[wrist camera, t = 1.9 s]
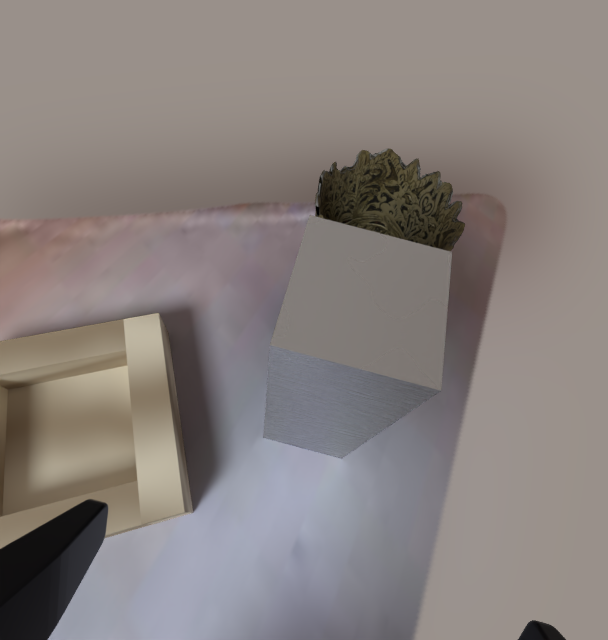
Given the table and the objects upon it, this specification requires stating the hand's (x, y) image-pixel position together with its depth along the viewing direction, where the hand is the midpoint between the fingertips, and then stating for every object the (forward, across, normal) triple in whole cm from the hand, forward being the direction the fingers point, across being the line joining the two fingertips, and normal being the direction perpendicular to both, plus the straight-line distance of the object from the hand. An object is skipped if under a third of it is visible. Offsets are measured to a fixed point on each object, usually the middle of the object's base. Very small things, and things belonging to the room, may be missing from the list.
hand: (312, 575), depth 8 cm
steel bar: (+14, 0, +4) cm, 14 cm away
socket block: (+11, +11, +8) cm, 17 cm away
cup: (+20, -1, -2) cm, 20 cm away
